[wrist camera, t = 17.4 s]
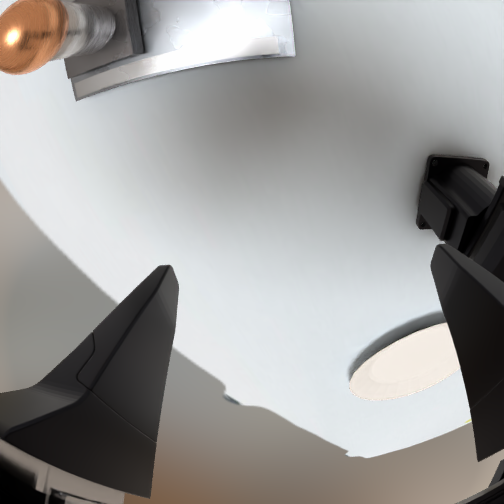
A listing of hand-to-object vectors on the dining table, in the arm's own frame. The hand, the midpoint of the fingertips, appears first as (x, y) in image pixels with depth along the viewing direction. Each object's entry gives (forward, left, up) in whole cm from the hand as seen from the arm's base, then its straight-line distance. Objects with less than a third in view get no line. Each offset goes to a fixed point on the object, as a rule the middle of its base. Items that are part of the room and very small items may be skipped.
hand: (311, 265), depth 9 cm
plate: (-18, +30, -12) cm, 37 cm away
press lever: (+10, -10, -10) cm, 17 cm away
